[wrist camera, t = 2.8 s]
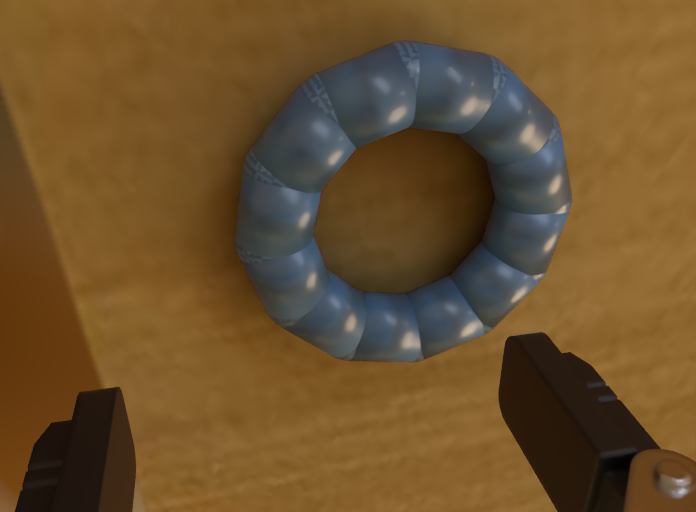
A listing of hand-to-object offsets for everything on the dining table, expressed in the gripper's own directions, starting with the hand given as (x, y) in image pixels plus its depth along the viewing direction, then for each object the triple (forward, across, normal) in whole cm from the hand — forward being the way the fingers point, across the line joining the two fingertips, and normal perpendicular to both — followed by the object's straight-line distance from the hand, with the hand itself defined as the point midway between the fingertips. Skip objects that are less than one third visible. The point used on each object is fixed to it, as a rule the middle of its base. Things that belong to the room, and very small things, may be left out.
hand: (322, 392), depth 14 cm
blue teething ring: (+8, -4, 0) cm, 9 cm away
